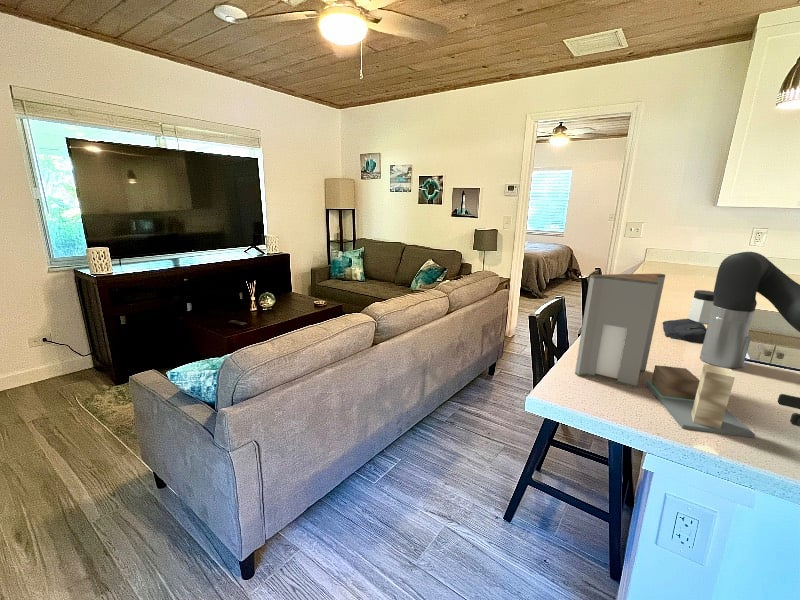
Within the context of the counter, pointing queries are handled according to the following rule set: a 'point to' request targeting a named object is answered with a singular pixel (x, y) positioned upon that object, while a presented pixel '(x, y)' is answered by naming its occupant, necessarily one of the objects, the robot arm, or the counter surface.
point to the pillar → (712, 396)
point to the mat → (683, 416)
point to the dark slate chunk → (685, 330)
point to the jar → (701, 306)
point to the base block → (675, 382)
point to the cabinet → (618, 326)
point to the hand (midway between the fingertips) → (784, 408)
